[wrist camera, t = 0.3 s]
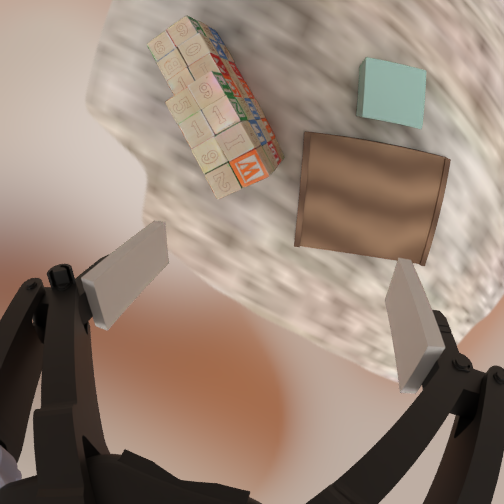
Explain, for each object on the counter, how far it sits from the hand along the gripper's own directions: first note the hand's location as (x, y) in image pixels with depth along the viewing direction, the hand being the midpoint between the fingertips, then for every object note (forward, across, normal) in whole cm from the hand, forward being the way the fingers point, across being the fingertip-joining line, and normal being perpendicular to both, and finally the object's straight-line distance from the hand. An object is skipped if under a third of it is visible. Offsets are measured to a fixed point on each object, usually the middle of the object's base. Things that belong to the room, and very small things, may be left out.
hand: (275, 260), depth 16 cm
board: (+26, +9, -3) cm, 28 cm away
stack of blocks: (+27, -11, +9) cm, 30 cm away
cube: (+26, +9, +12) cm, 30 cm away
